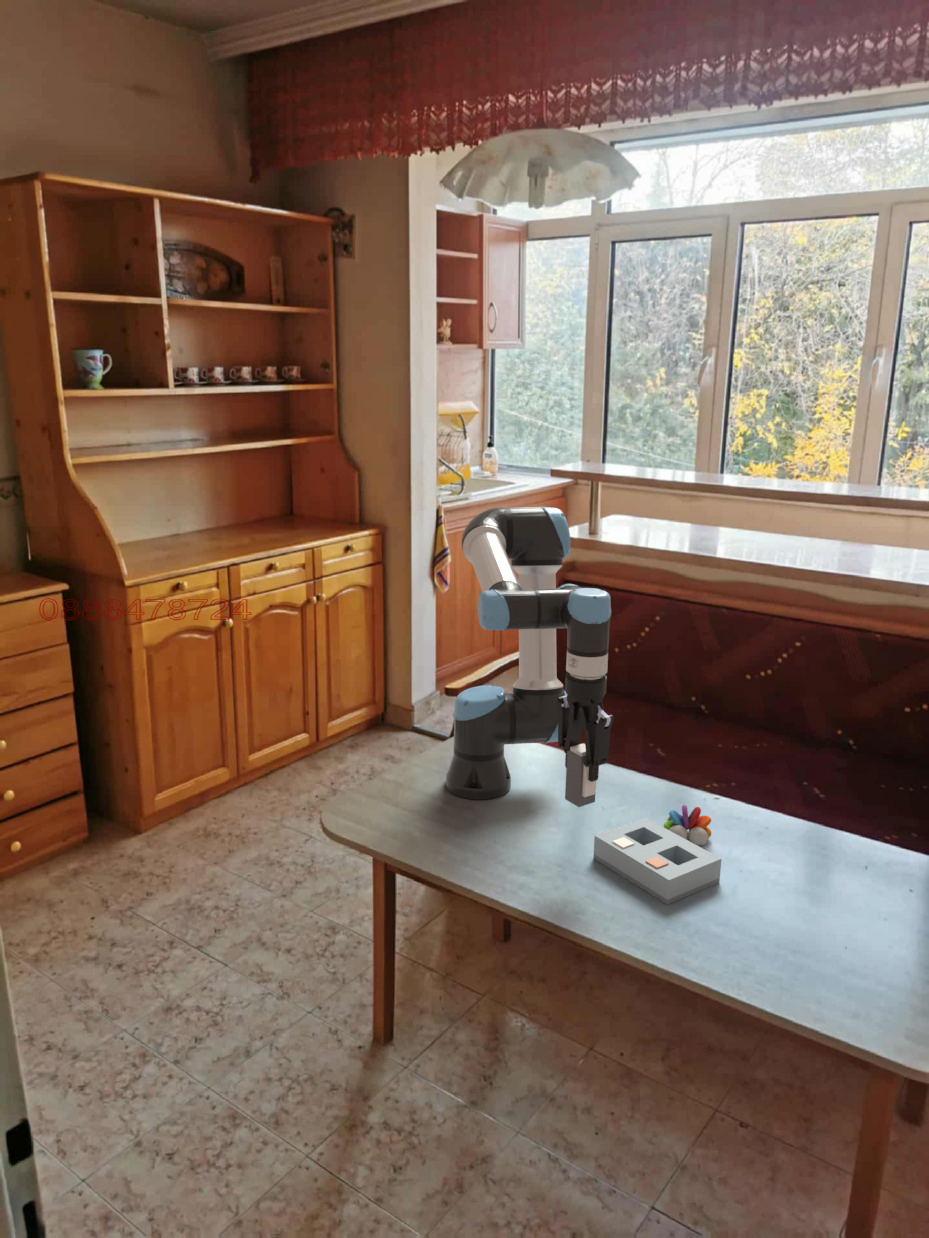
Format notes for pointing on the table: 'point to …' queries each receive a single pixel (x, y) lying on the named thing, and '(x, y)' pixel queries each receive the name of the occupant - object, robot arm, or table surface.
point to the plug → (576, 776)
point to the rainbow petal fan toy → (689, 825)
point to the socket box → (657, 860)
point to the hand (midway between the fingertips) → (580, 789)
